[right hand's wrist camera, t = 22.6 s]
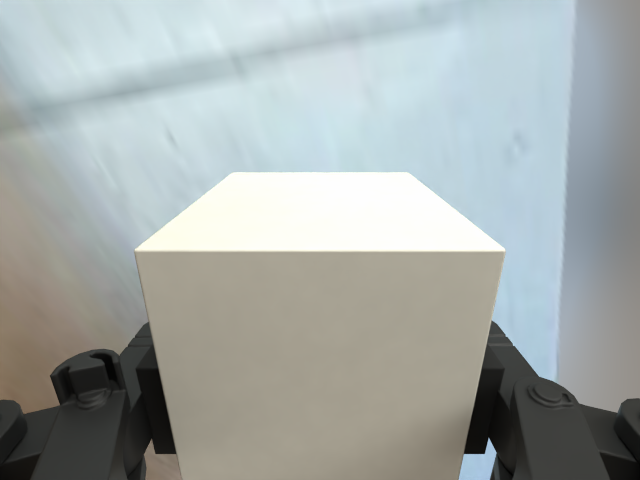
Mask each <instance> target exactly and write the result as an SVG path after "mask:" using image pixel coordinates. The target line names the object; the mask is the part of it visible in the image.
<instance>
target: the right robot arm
mask: <svg viewBox="0 0 640 480" xmlns="http://www.w3.org/2000/svg"><path fill="white" fill-rule="evenodd" d="M50 377H51V380H52V383H53V386H54V389H55V391H56V394H57V397H58V400H59V403H60V406H56V407H53V408H48V409H44V410H40V411H36V412H31V413H27V414H23V412H22V410H21V407H20V405H19V404H18V403H16V402H15V401H13V400H0V480H145V476H146V463H145V458H144V453H145V451H146V449H147V447H148V445H149V443H150V441H151V439H152V441H153V445H154V449H155V454H176V449H175V445H174V440H173V435H172V430H171V426H170V421H169V416H168V411H167V406H166V402H165V397H164V392H163V387H162V382H161V378H160V373H159V368H158V363H157V359H156V354H155V349H154V344H153V339H152V335H151V330H150V325H149V322H148V323H146V324H145V325H143V327H142V328H141V329H140V330H139V332H138V333H137V334H136V335H135V338H133V339H132V341H131V342H130V343H129V344H128V347H126V348H125V349H124V351H123V352H122V353H121V354H120V356H118V354H117V353H115V352H114V351H112V350H107V349H98V350H90V351H87V352H84V353H80V354H78V355H76V356H74V357H72V358H70V359H67V360H66V361H65V362H63V363H62V364H60V365H59V366H58V367H56V369H55V370H54V371H53V373H52V374H51V375H50ZM488 438H490V440H491V442H492V444H493V446H494V448H495V450H496V452H497V454H496V458H495V462H494V465H493V469H492V473H491V477H490V480H640V399H639V398H636V399H627V400H625V401H624V402H623V403H621V406H620V408H619V411H618V413H615V412H611V411H607V410H602V409H598V408H594V407H589V406H585V405H582V404H579V403H578V401H577V400H576V398H575V397H574V395H572V394H571V393H570V392H569V391H568V390H566V389H565V388H564V387H562V386H560V385H559V384H557V383H555V382H553V381H550V380H547V379H544V378H541V377H539V376H538V375H537V374H536V372H535V371H534V370H533V369H532V367H531V366H530V365H529V364H528V362H527V361H526V360H525V359H524V357H523V356H522V355H521V354H520V352H519V351H518V350H517V349H516V347H515V346H513V344H512V342H511V341H510V340H509V339H508V337H506V336H505V334H504V332H503V331H502V330H501V329H500V327H499V326H498V325H497V324H496V323H495V322H493V321H492V320H491V325H490V330H489V335H488V339H487V344H486V349H485V354H484V359H483V364H482V368H481V373H480V378H479V383H478V388H477V392H476V397H475V402H474V407H473V412H472V416H471V421H470V426H469V431H468V436H467V440H466V445H465V450H464V454H485V450H486V446H487V442H488Z"/></svg>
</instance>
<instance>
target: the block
mask: <svg viewBox="0 0 640 480" xmlns="http://www.w3.org/2000/svg"><path fill="white" fill-rule="evenodd" d="M134 253H135V258H136V263H137V268H138V273H139V277H140V282H141V287H142V292H143V296H144V301H145V306H146V311H147V316H148V320H149V325H150V330H151V335H152V339H153V344H154V349H155V354H156V359H157V363H158V368H159V373H160V378H161V382H162V387H163V392H164V397H165V402H166V406H167V411H168V416H169V421H170V426H171V430H172V435H173V440H174V445H175V449H176V454H177V459H178V464H179V469H180V473H181V478H182V480H458V479H459V474H460V469H461V464H462V460H463V455H464V450H465V445H466V440H467V436H468V431H469V426H470V421H471V416H472V412H473V407H474V402H475V397H476V392H477V388H478V383H479V378H480V373H481V368H482V364H483V359H484V354H485V349H486V344H487V339H488V335H489V330H490V325H491V320H492V315H493V311H494V306H495V301H496V296H497V291H498V287H499V282H500V277H501V272H502V267H503V263H504V258H505V253H506V251H505V249H504V248H503V247H502V246H500V245H499V244H498V243H497V242H495V241H494V240H493V239H492V238H490V237H489V236H488V235H487V234H485V233H484V232H483V231H481V230H480V229H479V228H478V227H476V226H475V225H474V224H473V223H471V222H470V221H469V220H468V219H466V218H465V217H464V216H462V215H461V214H460V213H459V212H457V211H456V210H455V209H454V208H452V207H451V206H450V205H449V204H447V203H446V202H445V201H443V200H442V199H441V198H440V197H438V196H437V195H436V194H435V193H433V192H432V191H431V190H430V189H428V188H427V187H426V186H425V185H423V184H422V183H421V182H419V181H418V180H417V179H416V178H414V177H413V176H412V175H411V174H409V173H231V174H230V175H229V176H227V177H226V178H225V179H224V180H222V181H221V182H220V183H219V184H217V185H216V186H215V187H213V188H212V189H211V190H210V191H208V192H207V193H206V194H204V195H203V196H202V197H201V198H199V199H198V200H197V201H196V202H194V203H193V204H192V205H190V206H189V207H188V208H187V209H185V210H184V211H183V212H181V213H180V214H179V215H178V216H176V217H175V218H174V219H173V220H171V221H170V222H169V223H167V224H166V225H165V226H164V227H162V228H161V229H160V230H159V231H157V232H156V233H155V234H153V235H152V236H151V237H150V238H148V239H147V240H146V241H144V242H143V243H142V244H141V245H139V246H138V247H137V248H136V249H135V250H134Z"/></svg>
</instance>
